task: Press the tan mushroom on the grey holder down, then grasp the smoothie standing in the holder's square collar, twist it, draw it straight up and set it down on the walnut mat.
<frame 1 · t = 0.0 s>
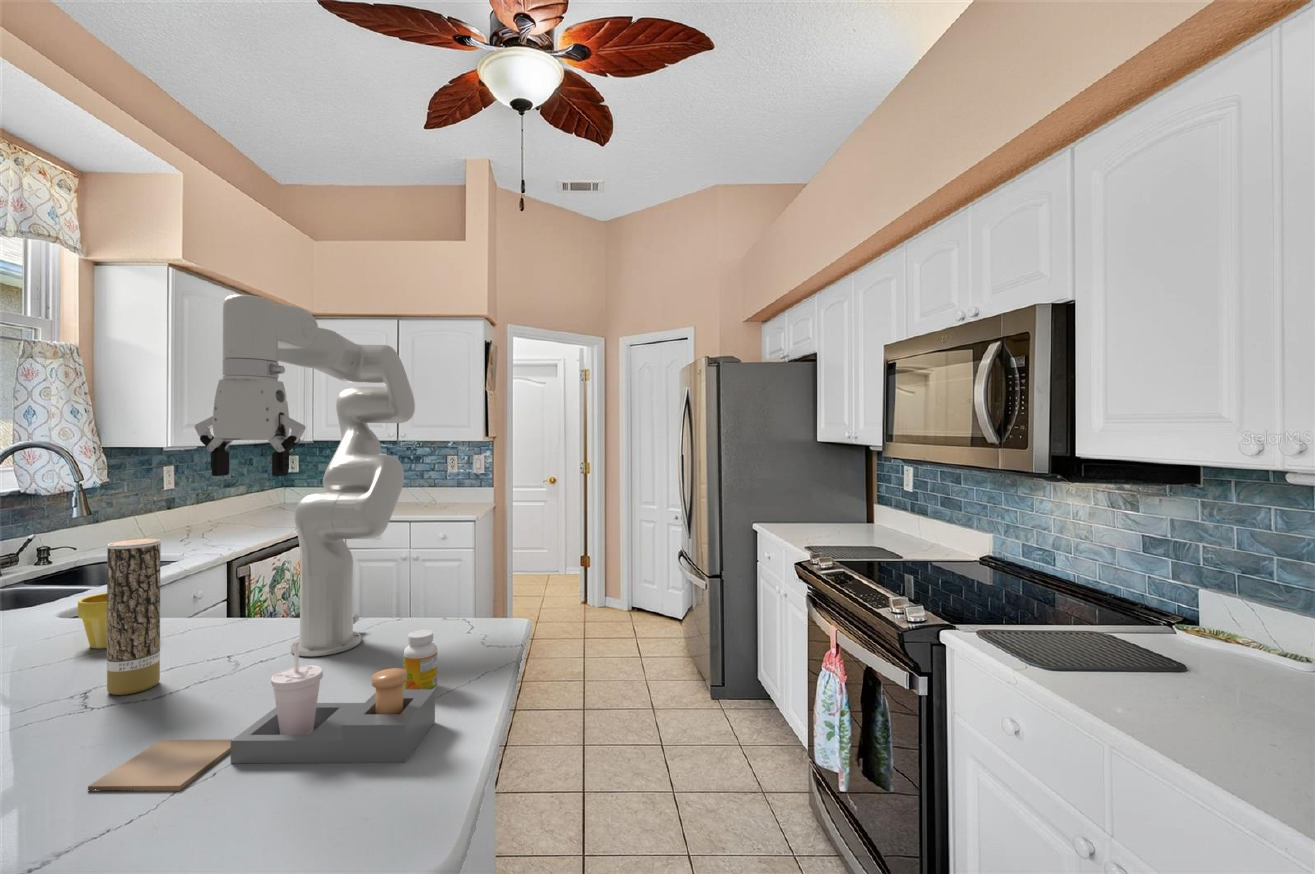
hand: (250, 475, 98), 37 cm above the table, tool pointing down, fingers open, 9 cm apart
plant pot: (112, 644, 122), on the table
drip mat: (170, 765, 78), on the table
tan mushroom: (389, 698, 84), point 6 cm above the table, slide at 0.0 cm
grey holder: (339, 741, 84), on the table
supplement bottle: (420, 690, 101), on the table
paper tube: (133, 689, 101), on the table
smoothie: (297, 742, 84), resting in grey holder
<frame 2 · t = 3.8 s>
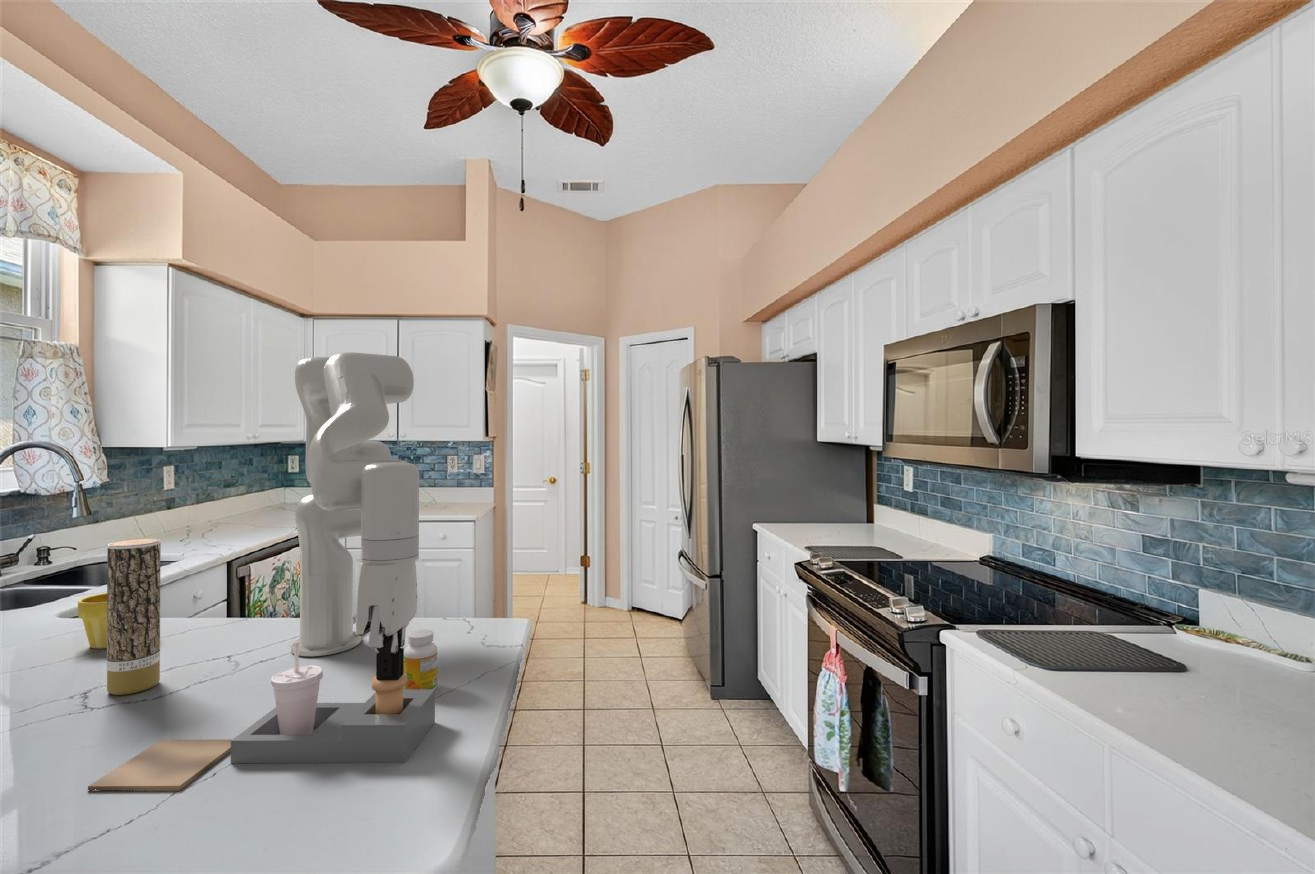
hand: (390, 677, 84), 9 cm above the table, tool pointing down, fingers closed
tan mushroom: (389, 702, 84), point 6 cm above the table, slide at 0.5 cm, touching gripper
everything else where it was.
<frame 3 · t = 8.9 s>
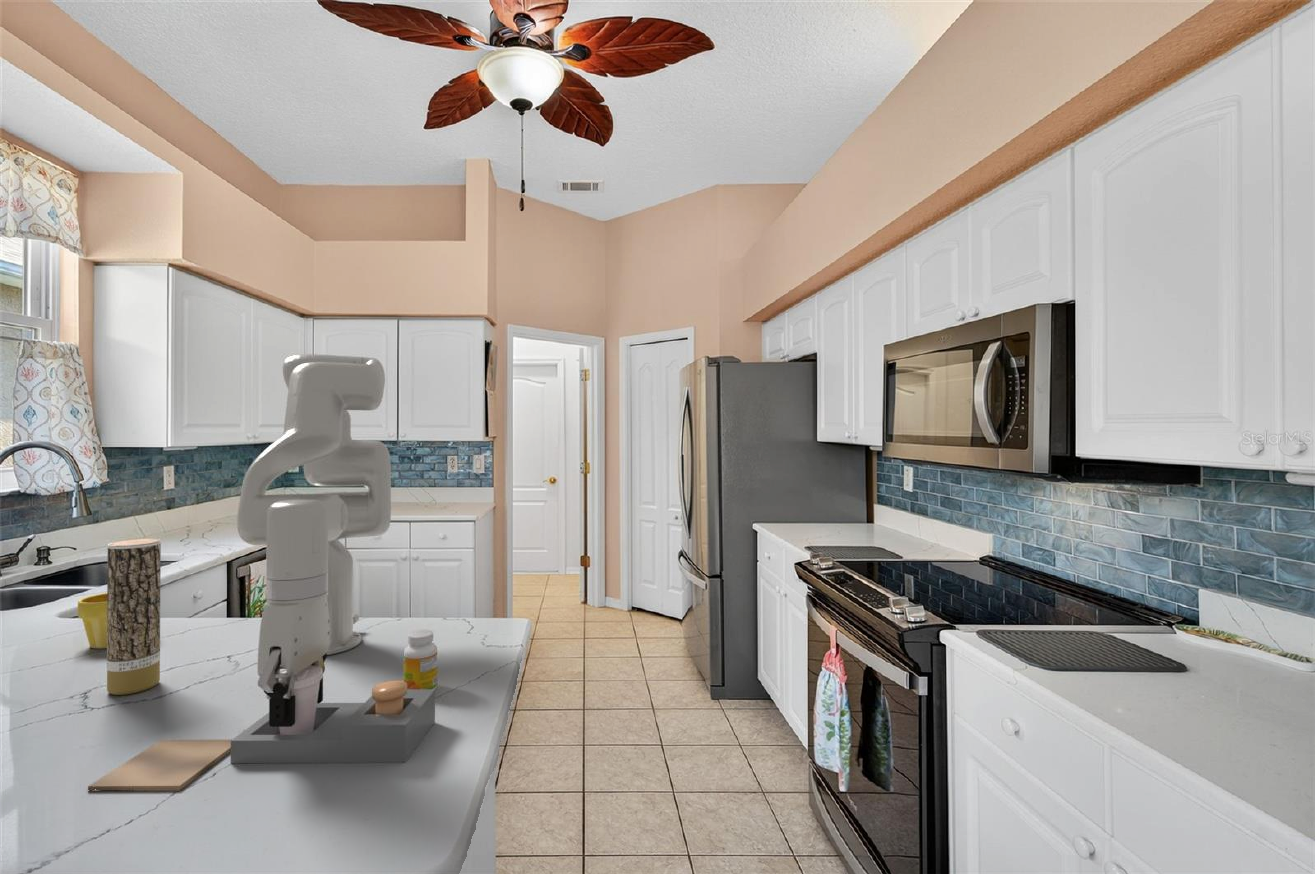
hand: (297, 712, 84), 4 cm above the table, tool pointing down, fingers closed on smoothie, 6 cm apart
tan mushroom: (389, 711, 84), point 4 cm above the table, slide at 1.8 cm
smoothie: (297, 742, 84), resting in grey holder, touching gripper
everything else where it was.
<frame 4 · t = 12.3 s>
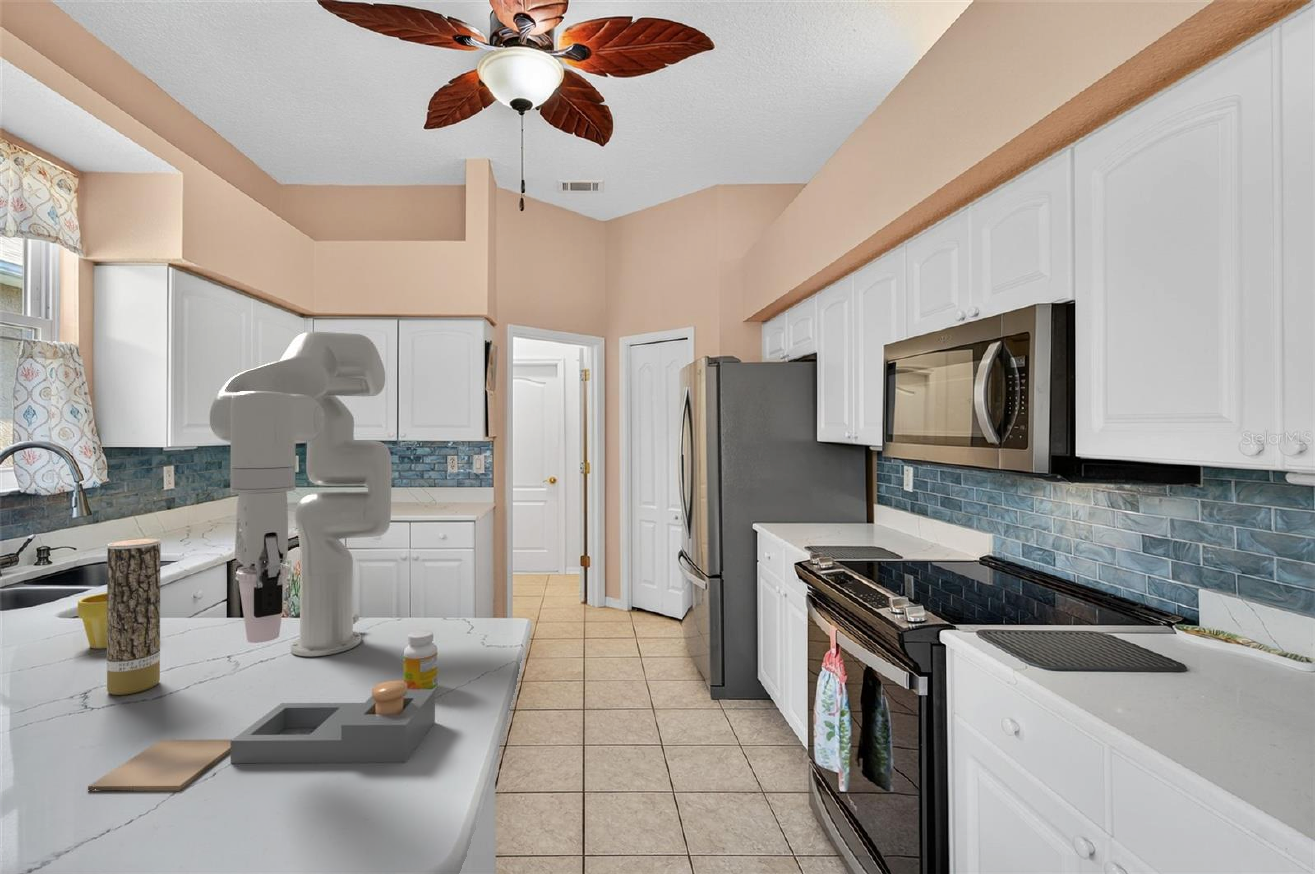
hand: (263, 608, 82), 19 cm above the table, tool pointing down, fingers closed on smoothie, 6 cm apart
smoothie: (263, 639, 82), point 15 cm above the table, touching gripper
everything else where it was.
when the fingers open (6 cm above the table, at t = 16.0 s): smoothie drops 1 cm, resting on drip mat.
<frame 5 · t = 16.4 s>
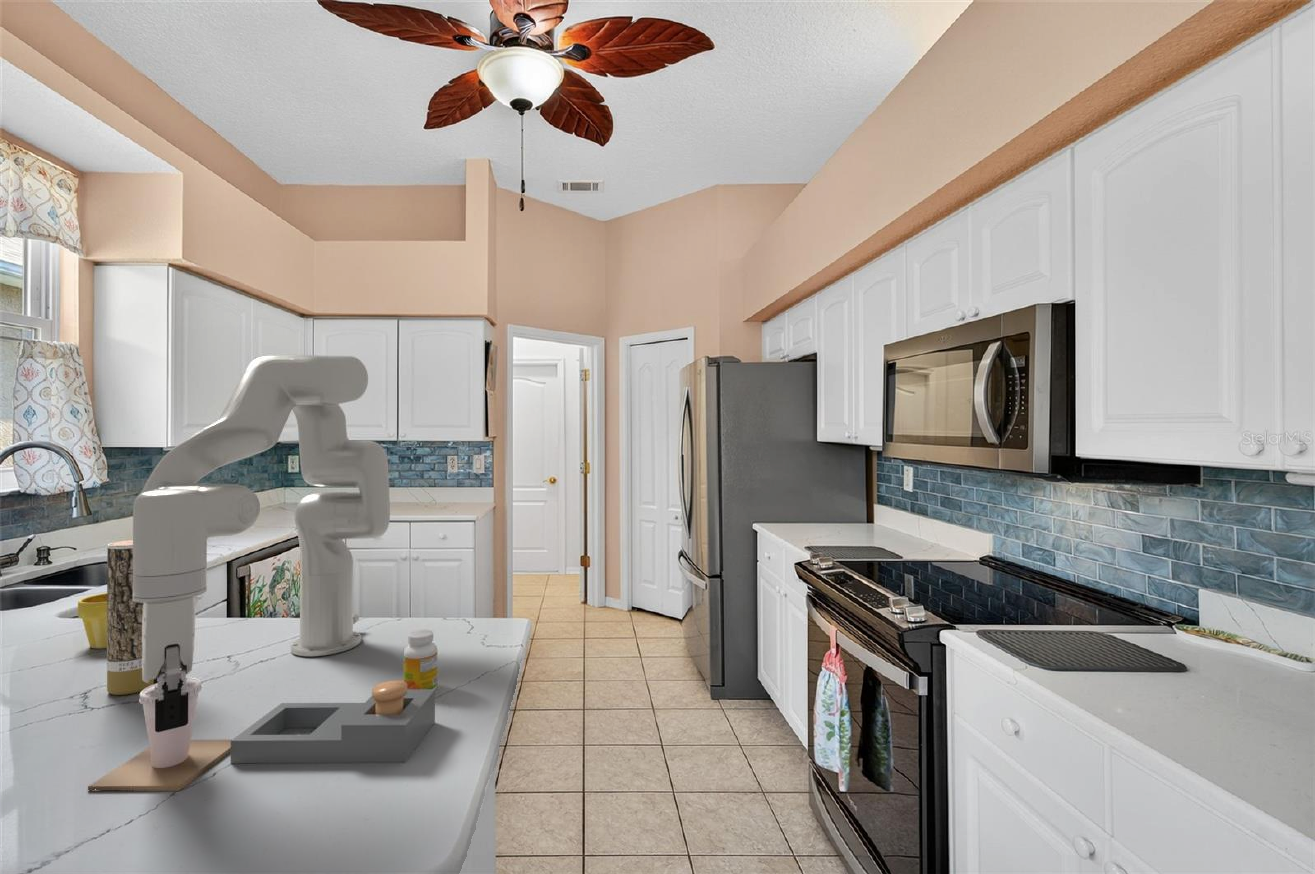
hand: (170, 713, 78), 7 cm above the table, tool pointing down, fingers open, 9 cm apart
smoothie: (170, 761, 78), resting on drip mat
everything else where it was.
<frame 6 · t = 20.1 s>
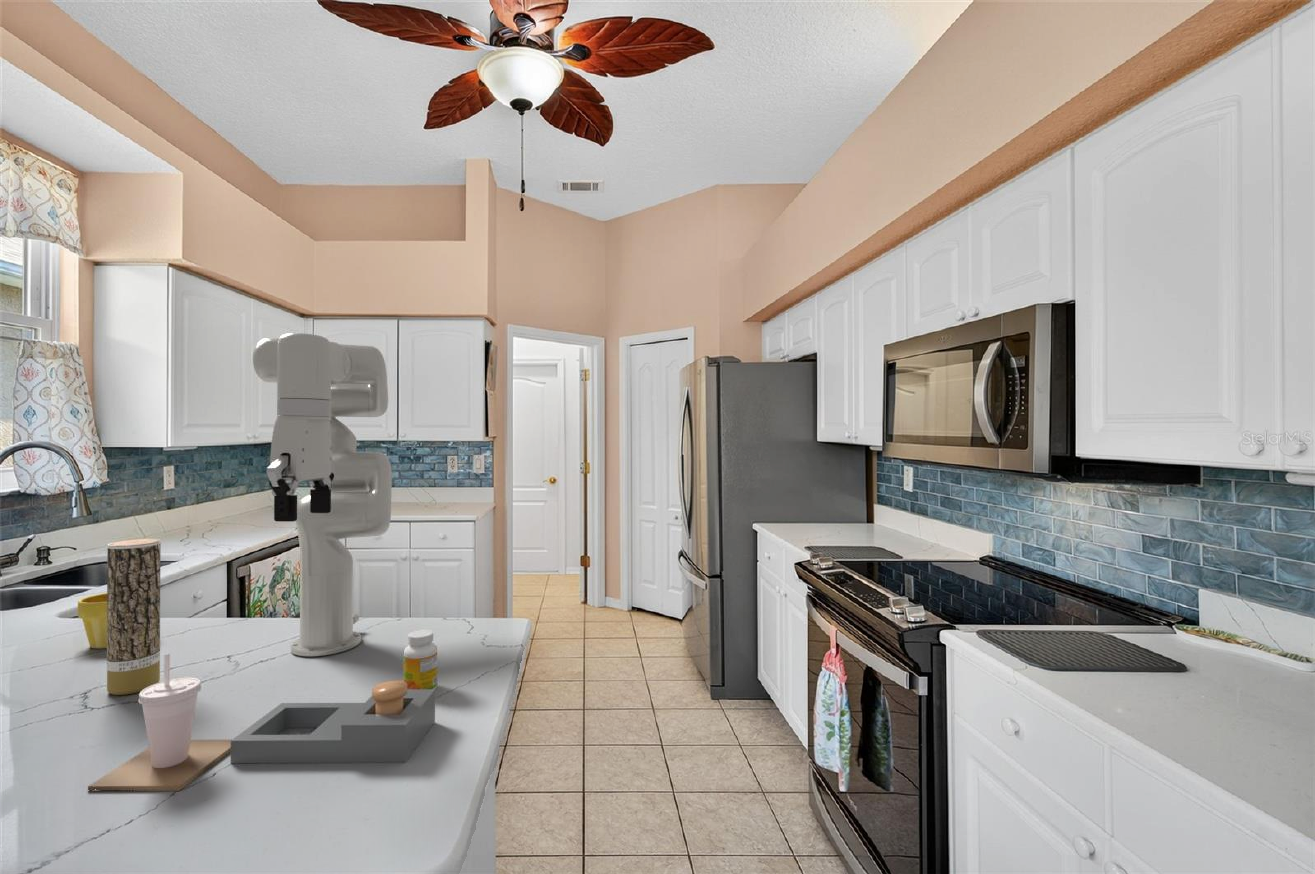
hand: (304, 516, 96), 30 cm above the table, tool pointing down, fingers open, 9 cm apart
nothing on the table moved.
at the end: tan mushroom slide at 1.8 cm; smoothie inside the target area on the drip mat (0.2 cm from its centre), point 0.4 cm above the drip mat's base; smoothie tilted 0° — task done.
